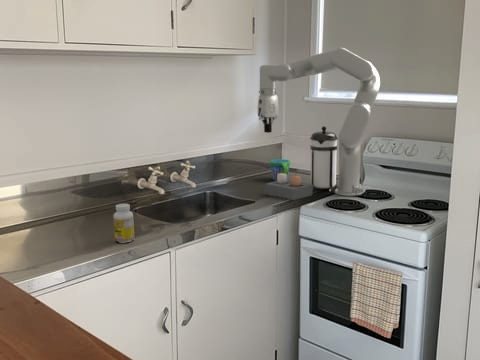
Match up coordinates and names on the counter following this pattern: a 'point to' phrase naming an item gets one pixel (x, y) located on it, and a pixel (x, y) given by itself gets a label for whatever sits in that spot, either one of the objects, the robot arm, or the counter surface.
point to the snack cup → (279, 167)
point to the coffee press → (323, 159)
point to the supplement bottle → (123, 222)
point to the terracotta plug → (296, 181)
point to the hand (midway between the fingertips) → (267, 132)
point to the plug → (282, 178)
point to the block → (289, 190)
